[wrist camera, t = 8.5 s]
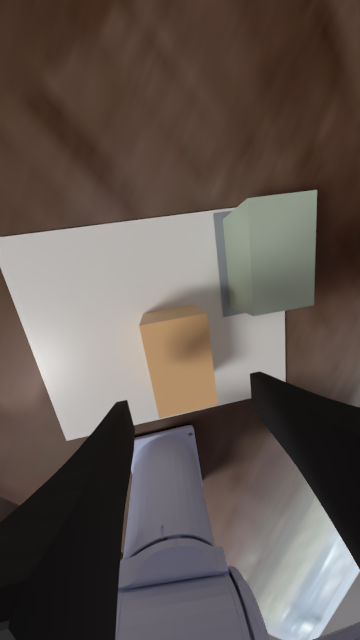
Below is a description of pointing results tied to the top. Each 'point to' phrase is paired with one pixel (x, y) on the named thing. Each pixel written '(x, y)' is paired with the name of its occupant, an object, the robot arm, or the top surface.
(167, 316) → the tan brick
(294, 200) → the sage brick
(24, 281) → the baseplate
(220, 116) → the top surface
